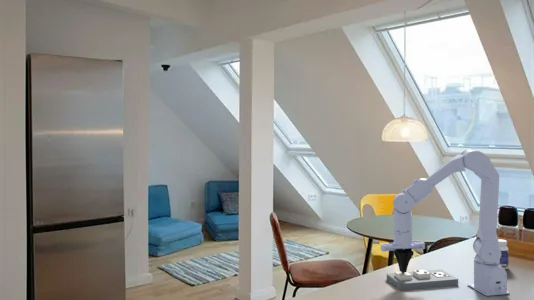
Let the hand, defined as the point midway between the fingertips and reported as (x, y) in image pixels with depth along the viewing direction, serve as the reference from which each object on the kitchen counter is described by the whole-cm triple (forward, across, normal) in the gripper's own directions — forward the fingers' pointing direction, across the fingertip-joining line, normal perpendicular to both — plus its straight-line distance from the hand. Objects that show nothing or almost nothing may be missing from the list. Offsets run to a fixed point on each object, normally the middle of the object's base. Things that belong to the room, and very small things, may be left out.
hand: (402, 271), depth 146 cm
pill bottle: (+4, -41, -8) cm, 42 cm away
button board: (+4, -6, 0) cm, 8 cm away
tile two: (+2, -6, 0) cm, 7 cm away
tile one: (+3, 0, 0) cm, 3 cm away
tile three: (+4, -13, 0) cm, 14 cm away
